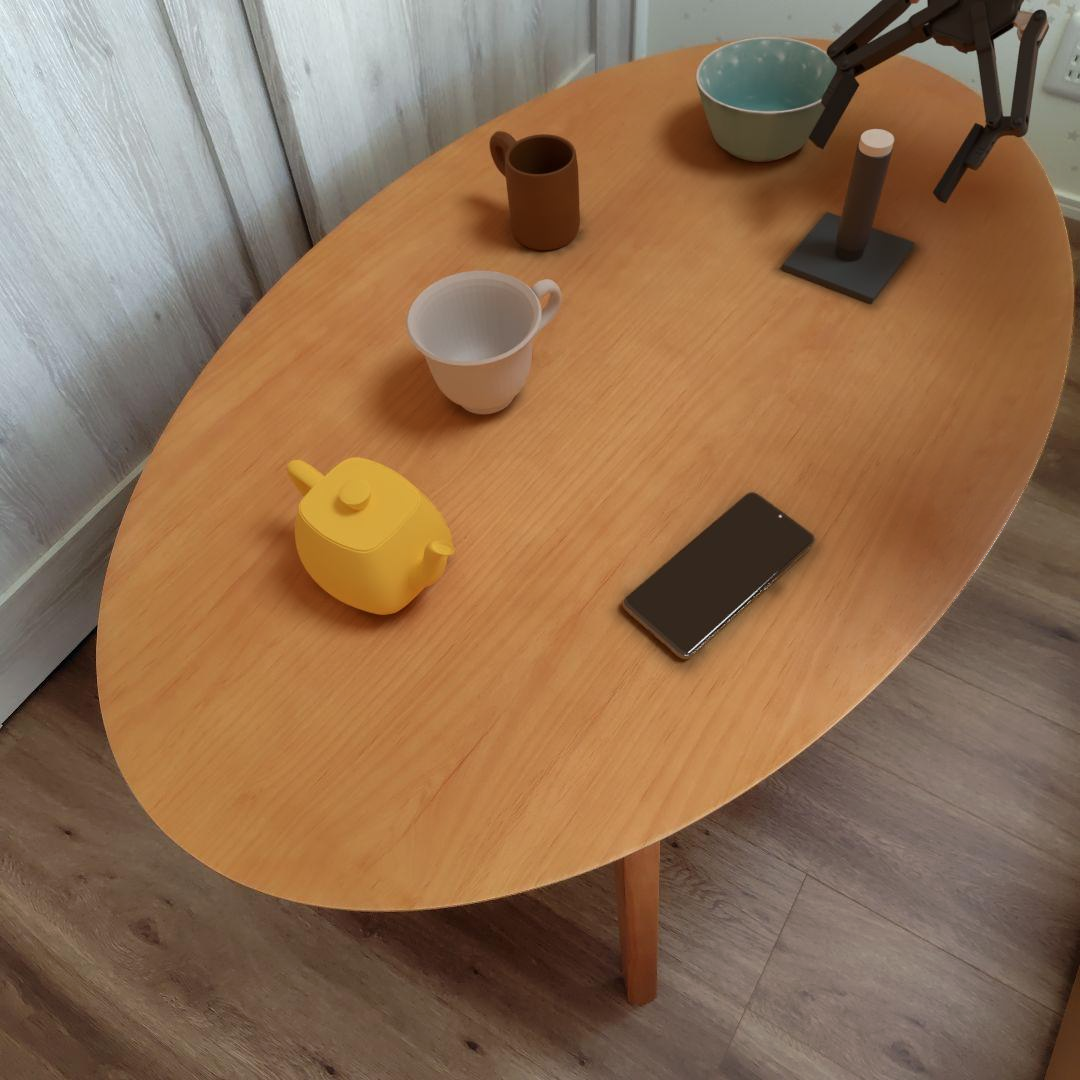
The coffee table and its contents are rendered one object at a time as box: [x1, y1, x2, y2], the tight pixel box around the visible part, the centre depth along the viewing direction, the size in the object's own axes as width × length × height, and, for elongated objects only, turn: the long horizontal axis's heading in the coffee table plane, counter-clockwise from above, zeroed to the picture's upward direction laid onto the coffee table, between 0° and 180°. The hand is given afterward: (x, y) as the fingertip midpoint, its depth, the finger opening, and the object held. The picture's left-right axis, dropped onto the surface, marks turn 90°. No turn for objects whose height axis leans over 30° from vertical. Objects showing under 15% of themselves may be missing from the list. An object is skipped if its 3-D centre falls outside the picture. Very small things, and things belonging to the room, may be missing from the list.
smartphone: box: [622, 491, 816, 660], centre depth 77 cm, size 7×1×16 cm
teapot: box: [286, 456, 456, 616], centre depth 76 cm, size 18×11×11 cm, turn 53°
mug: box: [489, 130, 581, 251], centre depth 101 cm, size 12×8×9 cm, turn 41°
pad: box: [781, 211, 916, 305], centre depth 98 cm, size 10×10×1 cm
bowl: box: [695, 36, 837, 163], centre depth 108 cm, size 16×16×8 cm
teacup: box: [405, 270, 563, 415], centre depth 87 cm, size 12×15×10 cm
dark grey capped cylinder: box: [835, 128, 895, 261], centre depth 92 cm, size 3×3×13 cm
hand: (875, 170), depth 90 cm, fingers open, 13 cm apart
